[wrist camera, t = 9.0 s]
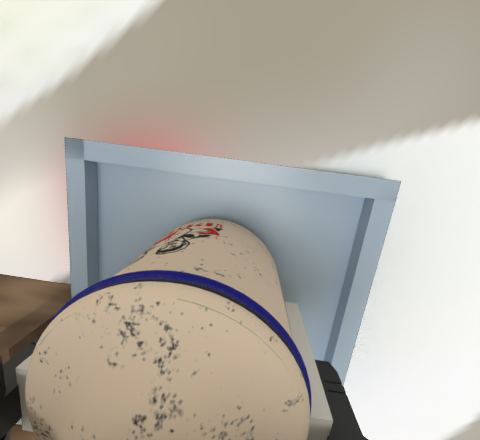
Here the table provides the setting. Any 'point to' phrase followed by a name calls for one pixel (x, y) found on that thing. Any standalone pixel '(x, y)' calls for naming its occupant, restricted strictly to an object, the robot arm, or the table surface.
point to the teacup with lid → (175, 348)
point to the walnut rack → (26, 318)
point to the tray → (242, 213)
